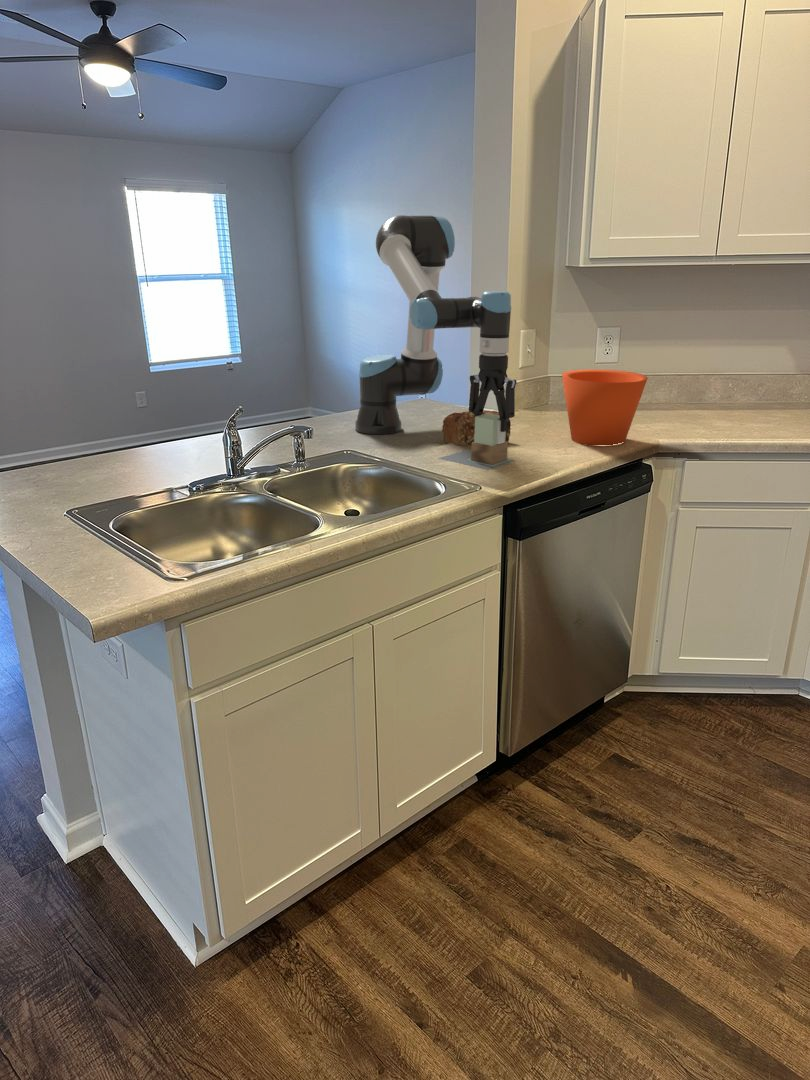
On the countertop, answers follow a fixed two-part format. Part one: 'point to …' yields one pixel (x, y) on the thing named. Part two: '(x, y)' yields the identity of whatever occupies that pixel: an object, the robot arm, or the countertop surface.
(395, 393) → the robot arm
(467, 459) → the build mat
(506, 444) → the walnut base
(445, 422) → the bread
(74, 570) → the countertop surface
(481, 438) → the green block
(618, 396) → the flowerpot
